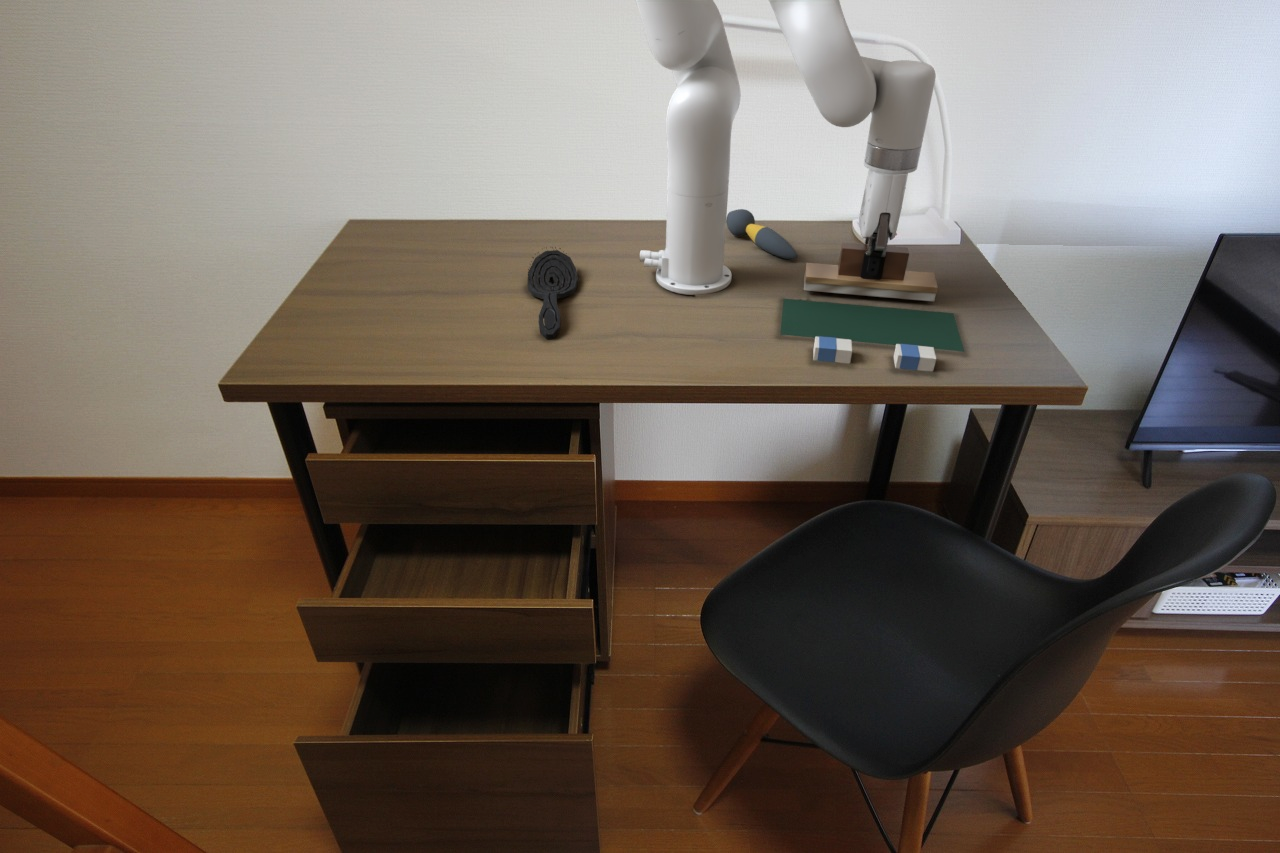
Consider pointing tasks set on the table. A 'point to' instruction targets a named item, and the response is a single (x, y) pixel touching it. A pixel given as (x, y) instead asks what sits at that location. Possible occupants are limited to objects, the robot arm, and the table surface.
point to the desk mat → (870, 324)
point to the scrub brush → (890, 285)
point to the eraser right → (914, 357)
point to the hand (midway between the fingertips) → (870, 273)
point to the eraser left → (832, 349)
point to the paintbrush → (759, 234)
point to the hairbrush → (551, 287)
